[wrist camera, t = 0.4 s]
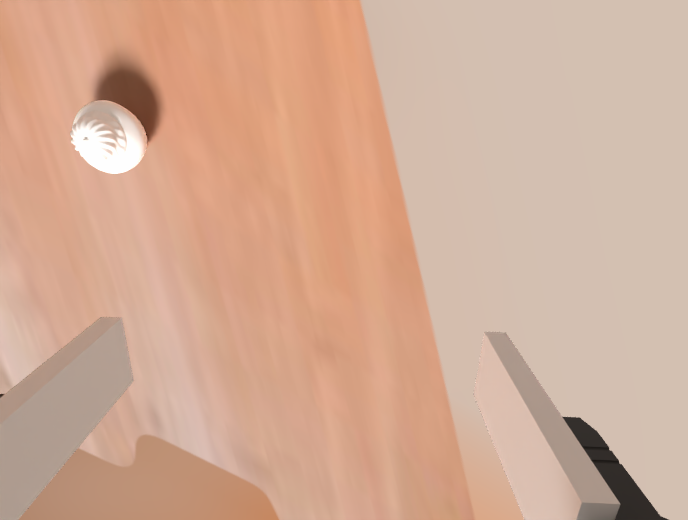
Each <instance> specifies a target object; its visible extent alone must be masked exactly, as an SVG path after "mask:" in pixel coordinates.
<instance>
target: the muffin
mask: <svg viewBox="0 0 688 520" xmlns="http://www.w3.org/2000/svg"><path fill="white" fill-rule="evenodd" d="M70 135H71V137H72V140H71V142H72V143H73V144H74V145H75V150H78V151H79V152H80V154H81V156H83V158H84V159H85V160H86V161H87V162H88V163H89V164H91V165H92V166H93V167H95V168H97V169H99V170H101V171H104V172H107V173H113V174H117V173H123V172H126V171H128V170H130V169H132V168H133V167H135V166H136V165H137V164H138V163H139V162H140V161H141V159H142V158H143V155H145V150H146V149H147V136H146V132H145V129H144V127H143V126H142V124H141V122H140V120H138V119H137V118H136V116H135V115H133V114H132V113H131V112H130V111H128V110H127V109H126V108H124V107H123V106H121V105H119V104H117V103H115V102H112V101H107V100H98V101H94V102H91V103H89V104H87V105H85V106H84V107H82V108H81V109H80V110H79V112H78V113H77V115H76V117H75V119H74V122H73V126H72V131H71V133H70Z"/></svg>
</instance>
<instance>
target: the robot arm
mask: <svg viewBox="0 0 688 520" xmlns="http://www.w3.org/2000/svg"><path fill="white" fill-rule="evenodd" d="M133 381H134V379H133V373H132V368H131V363H130V358H129V353H128V347H127V342H126V337H125V332H124V327H123V321H122V318H113V317H101V318H99V319H98V320H97V321H96V322H94V323H93V324H92V325H91V326H89V327H88V328H87V329H86V330H84V331H83V332H82V333H81V334H79V335H78V336H77V337H76V338H74V339H73V340H72V341H71V342H69V343H68V344H67V345H66V346H64V347H63V348H62V349H61V350H59V351H58V352H57V353H56V354H54V355H53V356H52V357H51V358H49V359H48V360H47V361H46V362H44V363H43V364H42V365H41V366H39V367H38V368H37V369H36V370H34V371H33V372H32V373H31V374H29V375H28V376H27V377H26V378H24V379H23V380H22V381H21V382H19V383H18V384H17V385H16V386H14V387H13V388H12V389H11V390H9V391H8V392H7V393H6V394H0V520H18V519H19V518H20V517H21V516H22V515H23V513H24V512H25V511H26V510H27V509H28V507H29V506H30V505H31V504H32V502H33V501H34V500H35V499H36V498H37V497H38V495H39V494H40V493H41V492H42V491H43V489H44V488H45V487H46V486H47V485H48V483H49V482H50V481H51V479H52V478H53V477H54V476H55V475H56V474H57V472H58V471H59V470H60V469H61V468H62V466H63V465H64V464H65V463H66V462H67V460H68V459H69V458H70V457H71V455H72V454H73V453H74V452H75V451H76V450H77V448H78V447H79V446H80V445H81V444H82V442H83V441H84V440H85V439H86V438H87V436H88V435H89V434H90V433H91V432H92V430H93V429H94V428H95V427H96V426H97V424H98V423H99V422H100V421H101V420H102V418H103V417H104V416H105V415H106V414H107V412H108V411H109V410H110V409H111V408H112V406H113V405H114V404H115V403H116V402H117V400H118V399H119V398H120V397H121V396H122V394H123V393H124V392H125V391H126V390H127V388H128V387H129V386H130V385H131V383H132V382H133ZM474 397H475V399H476V402H477V405H478V407H479V410H480V412H481V414H482V417H483V419H484V421H485V424H486V427H487V429H488V431H489V434H490V436H491V439H492V441H493V444H494V446H495V449H496V451H497V454H498V456H499V458H500V461H501V463H502V466H503V468H504V471H505V473H506V476H507V478H508V480H509V483H510V485H511V488H512V490H513V493H514V495H515V498H516V500H517V503H518V505H519V508H520V510H521V513H522V515H523V517H524V520H668V519H666V518H663V517H661V516H660V515H659V514H658V512H657V511H656V510H655V508H654V507H653V506H652V504H651V503H650V502H649V500H648V499H647V498H646V496H645V495H644V494H643V492H642V491H641V490H640V488H639V487H638V486H637V484H636V483H635V482H634V480H633V479H632V478H631V476H630V475H629V474H628V472H627V471H626V470H625V468H624V467H623V466H622V464H619V460H618V459H617V458H616V456H615V455H614V454H613V452H612V451H610V450H609V447H608V446H607V444H606V443H605V441H604V440H603V439H602V437H601V436H600V435H599V434H598V432H597V431H596V430H594V429H593V428H592V427H591V426H589V425H588V424H587V423H586V422H584V421H583V420H582V419H581V418H576V417H562V416H561V415H560V413H559V412H558V410H557V409H556V407H555V405H554V404H553V402H552V401H551V400H550V398H549V397H548V395H547V394H546V392H545V391H544V389H543V388H542V386H541V385H540V383H539V382H538V380H537V379H536V377H535V376H534V374H533V373H532V371H531V370H530V368H529V367H528V365H527V364H526V362H525V361H524V359H523V358H522V356H521V355H520V353H519V352H518V350H517V349H516V348H515V346H514V344H513V343H512V341H511V340H510V338H509V337H508V335H507V334H506V333H501V332H484V337H483V342H482V348H481V355H480V360H479V366H478V372H477V378H476V383H475V390H474Z"/></svg>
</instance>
